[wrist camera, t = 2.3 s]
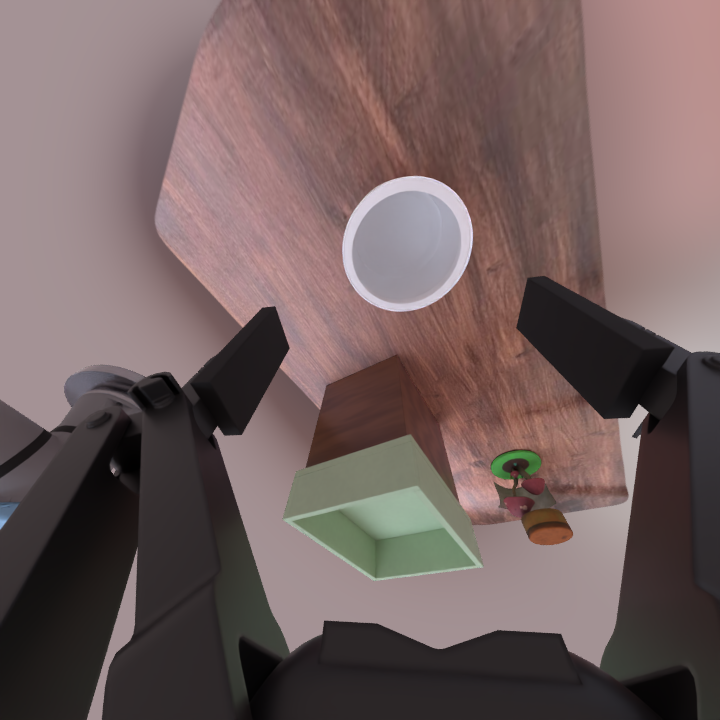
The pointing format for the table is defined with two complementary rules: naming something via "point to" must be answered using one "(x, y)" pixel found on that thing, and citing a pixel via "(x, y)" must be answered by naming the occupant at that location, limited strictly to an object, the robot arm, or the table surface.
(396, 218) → the jar
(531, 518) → the toy figurine
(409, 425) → the stand
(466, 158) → the table surface
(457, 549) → the tray
